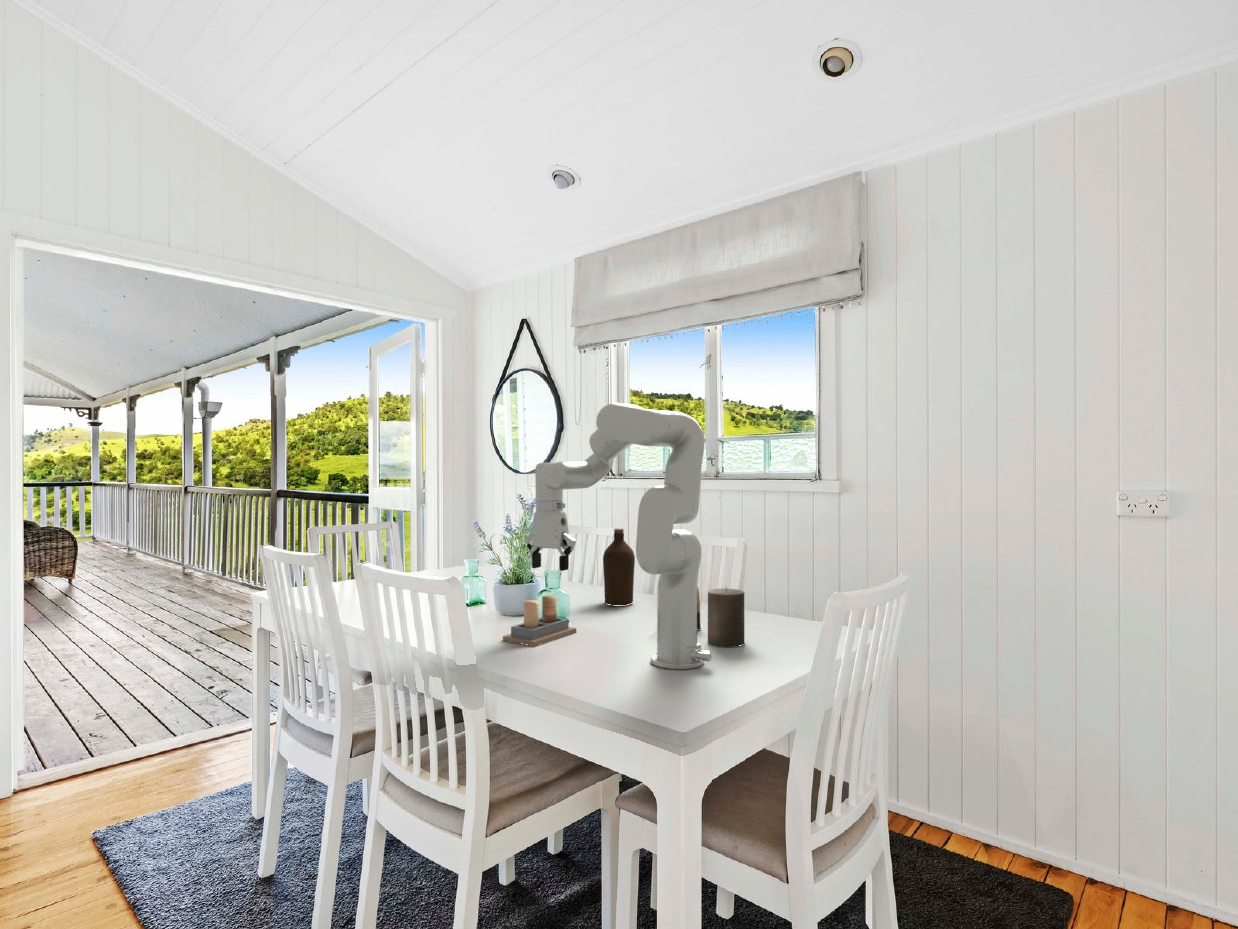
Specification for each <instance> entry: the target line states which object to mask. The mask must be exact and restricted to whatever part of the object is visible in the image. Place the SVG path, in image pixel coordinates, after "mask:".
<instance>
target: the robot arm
mask: <svg viewBox="0 0 1238 929" xmlns="http://www.w3.org/2000/svg"><path fill="white" fill-rule="evenodd" d="M595 423H596V428H597V429H596V430H595V431H594V432H593V433H591V435H590V437H589V446H590V450H592V452H593V453H592V454H591V455H590V456H588V458H586V459H584V460H582V461H581V460H580V461H579V460H576V461H573V460H570V461H556V462H539V463H537V464H536V466H535V470H534V471H535V473H534V474H535V479H534V480H535V512H534V514H533V518H532V527H531V533H529V534H528V535H526V536H525V537H524V541H525V544H526V547H527V548H528V551H529V554H531V568H532V569H537V568H541V567H542V554H541V552H540V551H541V550H542V549H551V550H553V549H555V550H557V551H558V552H559V554H560V555H559V556H558V561H559V562H558V564H559V569H558V570H559V571H561V572H563V571H568V570H569V565H570V562H569V556H570V555H571V553H572V552H573V551H574V548H575V545H576V543H577V540H576V539H575V538H574V537H572V536H571V535H570V532H569V531H570V530H569V523H568V517H567V514H566V511H564V509H565V508H566V504H565V503H564V492H563V490H579V489H581V490H582V489H588V488H591V487H593V486H594V485H596V484H597V483H598V482H600V481H601V480H602V479H603V478H605V477H606V476H607V475H608V473H609V472H610V471H611V469H612V467H613V465H614V459H615V458H616V457H618V456H619V455H620V454H621V453H623V452H624V451H625V450H626V449H627V448H629V447H630V446H631V445H632V444H634V445H638V446H643V447H668V448H669V447H670V448H671V449H672V451H671V453H670V454H669V456H668V459H667V460H666V465H665V473H664V474H665V475H664V483H663V485H656V486H652V487H650V488H648V490H647V491H646V492H644V494H643V495H642V497H641V499H640V502H639V505H638V511H637V512H638V514H637V523H636V524H637V525H636V526H637V527H636V542H635V556H636V561H637V563H638V565H639V567H640V568H641V569H642V571H643V572H646V573H647V574H649V575H659V577H658V582H657V592H656V593H657V595H656V596H657V597H656V598H657V599H656V601H657V602H656V605H657V606H656V612H657V614H656V618H657V620H656V624H657V625H656V636H657V637H656V638H657V640H656V643H657V646H656V652H654V653H653V654H651V656H650V663H651V664H652V665H654V666H656V667H659V668H661V669H662V668H663V669H668V670H669V669H670V670H688V669H689V670H690V669H695V668H699V667H701V666H702V665H703V664H704V662H708V663H710V662H711V661H712V658H713V656H712V652H711V651H710V650H703V649H702V643H699V642H698V630H697V587H698V583H699V581H698V580H699V579H698V578H699V571H700V564H701V561H702V560H701V559H702V547H701V542H700V540H699V538H698V537H697V536H696V535H695V534H694V533H693V532H691V531H689V530H685V529H680V528H679V529H674V526H682V525H686V524H687V525H688V524H690V523H692V522H693V521H694V520H695V519H696V518H697V517H698V513H699V508H700V499H701V497H700V496H701V483H702V467H703V466H702V465H703V460H704V459H703V458H704V454H705V453H704V452H705V435H704V431H703V429H702V427H701V426H700V424H699V423H698V421H697V420H696V419H694V418H693V417H692V416H690V415H688V414H685V413H684V412H678V411H671V410H658V409H646V408H644V407H641V406H639V405H636V404H631V403H620V402H611V403H607V404H605V405H604V406H603V407H602V408H601V409H600V410H599V412H598V413H597V416H596V422H595Z"/></svg>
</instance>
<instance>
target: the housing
mask: <svg viewBox="0 0 1238 929" xmlns="http://www.w3.org/2000/svg"><path fill="white" fill-rule="evenodd" d="M572 633H573V634H576V633H577V628H576V627H571V626H570V625H569V619H568V618H562V617H557V622H554V623H545V622H542V617H540V601H539V600H537V599H527V600H524V601H523V622H522V623H519V624H515V625H511V626H510V633H509V634H505V635H503V636H502V641H503V640H506V641H505V642H508V641H511V642H510V643H513V642H515V643H514V644H518V643H523V644H528V645H532V646H531V647H534V646H535V647H537V646H536V645H538V646H540V645H539V644H541V643H544V644H546V642H547V643H550V642H552V640H553V641H555V640H558V639H561V638H564V637H566V636H567V637H568V636H570V635H573V634H572ZM549 641H550V642H549ZM523 644H522V645H523ZM528 645H527V646H528ZM541 645H542V644H541Z"/></svg>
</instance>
